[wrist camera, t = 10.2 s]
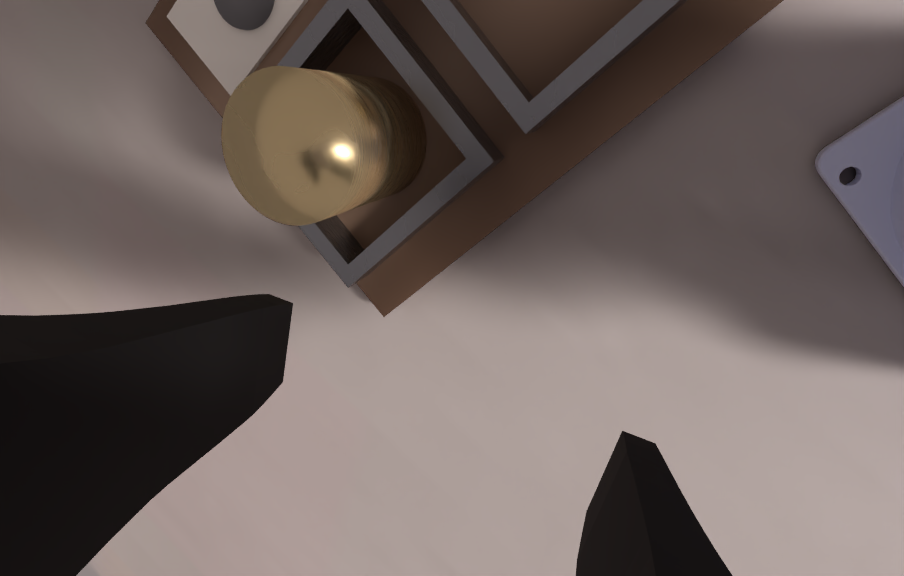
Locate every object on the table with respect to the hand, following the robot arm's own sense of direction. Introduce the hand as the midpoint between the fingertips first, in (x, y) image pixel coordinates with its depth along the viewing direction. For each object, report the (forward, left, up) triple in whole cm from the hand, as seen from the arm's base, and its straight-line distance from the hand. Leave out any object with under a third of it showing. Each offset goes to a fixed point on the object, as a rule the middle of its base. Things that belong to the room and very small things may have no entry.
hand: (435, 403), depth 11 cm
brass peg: (+7, +1, -8) cm, 11 cm away
